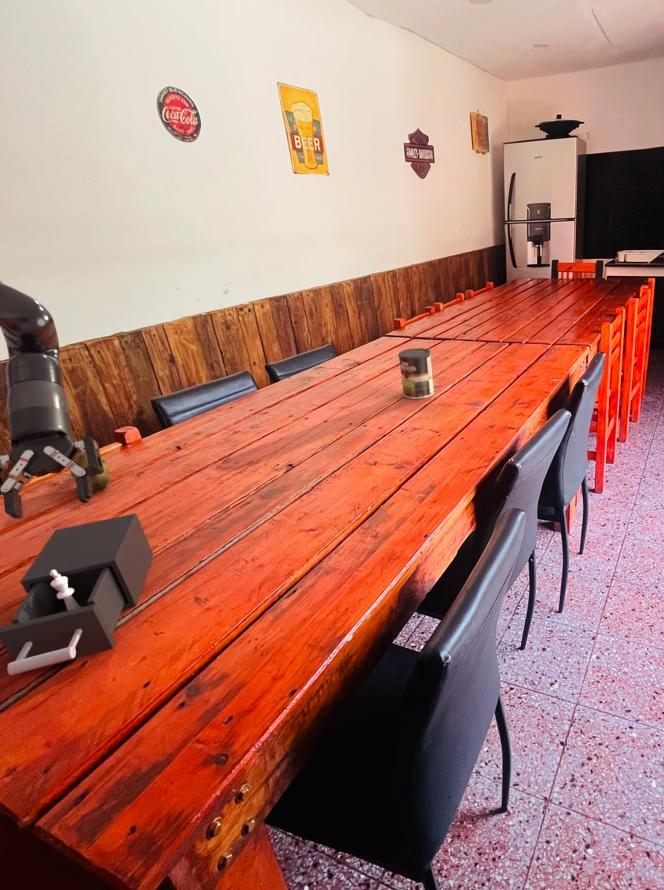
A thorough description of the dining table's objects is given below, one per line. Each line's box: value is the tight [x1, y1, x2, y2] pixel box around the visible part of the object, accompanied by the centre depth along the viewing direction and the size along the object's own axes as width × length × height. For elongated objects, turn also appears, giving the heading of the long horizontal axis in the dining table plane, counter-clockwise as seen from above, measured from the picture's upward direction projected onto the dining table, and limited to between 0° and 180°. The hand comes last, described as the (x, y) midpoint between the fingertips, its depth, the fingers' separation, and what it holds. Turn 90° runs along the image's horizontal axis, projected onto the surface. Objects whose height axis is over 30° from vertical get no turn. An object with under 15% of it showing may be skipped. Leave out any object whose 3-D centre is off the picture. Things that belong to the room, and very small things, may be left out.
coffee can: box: [397, 347, 435, 400], centre depth 167 cm, size 10×10×14 cm
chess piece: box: [50, 569, 82, 611], centre depth 77 cm, size 5×5×10 cm
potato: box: [69, 450, 111, 493], centre depth 122 cm, size 8×13×8 cm, turn 28°
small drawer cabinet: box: [20, 513, 154, 610], centre depth 87 cm, size 15×13×10 cm
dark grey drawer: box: [0, 565, 126, 676], centre depth 76 cm, size 19×11×8 cm, turn 20°
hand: (50, 509), depth 78 cm, fingers open, 8 cm apart
